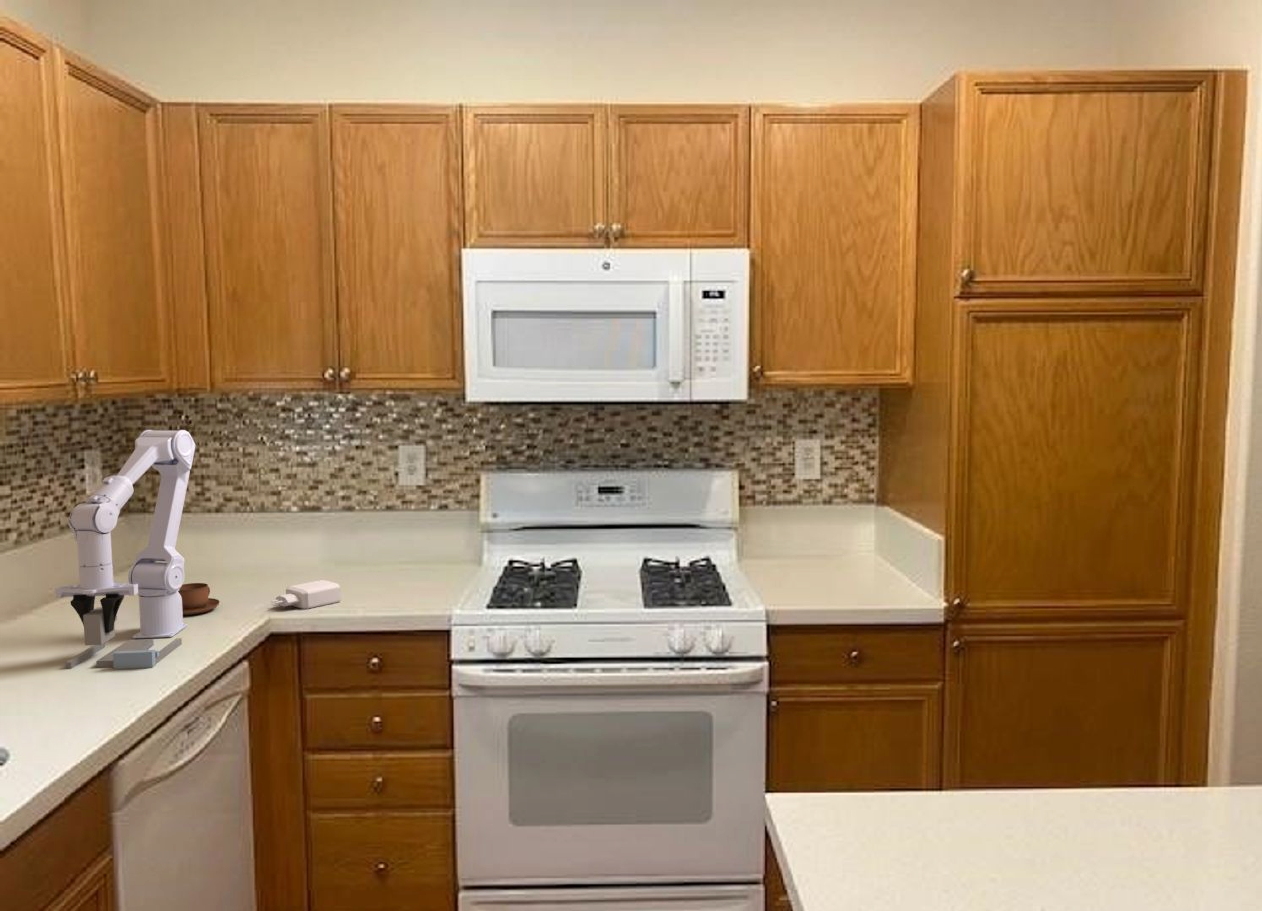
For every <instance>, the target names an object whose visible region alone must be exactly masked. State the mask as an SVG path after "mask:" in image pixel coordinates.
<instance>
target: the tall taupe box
mask: <svg viewBox="0 0 1262 911" xmlns="http://www.w3.org/2000/svg"><path fill="white" fill-rule="evenodd" d="M117 620H118V616H117V615H116V619H115V622H117ZM83 621H84V626H83V633H84V634H83V637H84V646H93V645H102V644H103V643H105V644H106V642H108V641H110V640H111V639H113V638H114V637H116V631H115V630H116V629H115V628H116V627H115V625H116V624H114V630H113V631H111V632H110V633H105V627H104V614H103V609H102V606H98V607H94V610H92V611H90V612H88V613H86V614H84V615H83Z"/></svg>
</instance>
